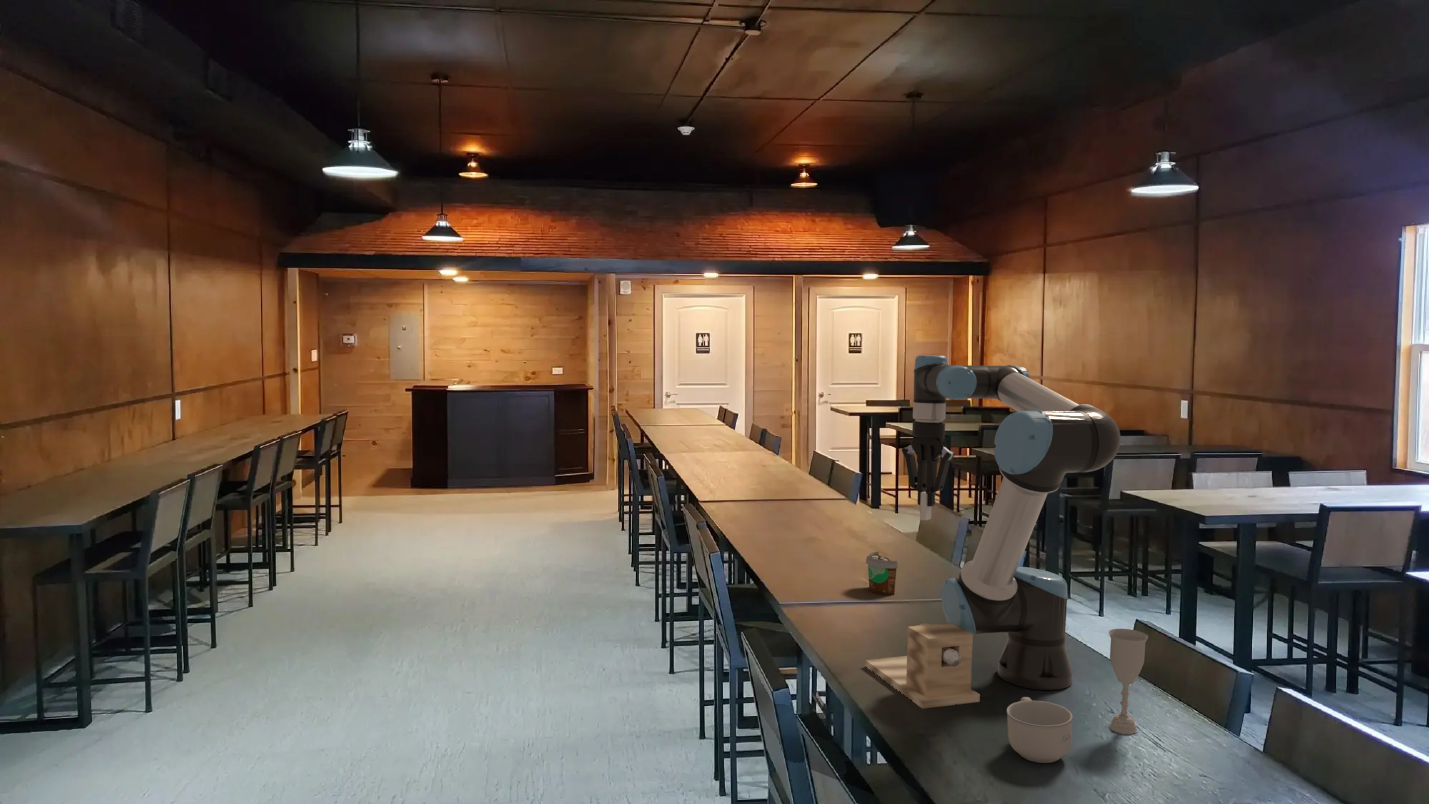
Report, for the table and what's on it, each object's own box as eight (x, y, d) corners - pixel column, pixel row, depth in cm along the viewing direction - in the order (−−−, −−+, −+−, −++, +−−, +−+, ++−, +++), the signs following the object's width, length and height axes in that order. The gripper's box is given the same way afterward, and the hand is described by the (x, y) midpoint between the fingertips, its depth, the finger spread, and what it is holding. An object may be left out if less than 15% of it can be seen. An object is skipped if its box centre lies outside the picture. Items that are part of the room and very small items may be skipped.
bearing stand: (865, 666, 205) (867, 606, 204) (917, 661, 209) (919, 602, 208) (922, 708, 182) (924, 641, 181) (979, 701, 186) (982, 635, 185)
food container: (857, 586, 272) (858, 552, 271) (876, 584, 274) (877, 551, 273) (877, 597, 260) (878, 562, 259) (896, 596, 262) (898, 561, 261)
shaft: (907, 657, 194) (908, 624, 193) (936, 654, 196) (937, 622, 195) (938, 678, 182) (939, 643, 182) (969, 674, 185) (970, 640, 184)
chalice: (1110, 717, 180) (1115, 626, 178) (1148, 727, 175) (1153, 633, 174) (1098, 729, 174) (1103, 635, 173) (1137, 740, 170) (1142, 643, 168)
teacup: (1075, 773, 156) (1077, 726, 156) (1008, 765, 159) (1010, 720, 158) (1062, 738, 170) (1064, 695, 169) (1000, 732, 172) (1002, 689, 172)
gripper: (961, 421, 219) (958, 521, 220) (912, 417, 227) (909, 513, 229) (946, 423, 213) (942, 525, 215) (896, 419, 222) (893, 517, 223)
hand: (925, 519), depth 222 cm, fingers closed
